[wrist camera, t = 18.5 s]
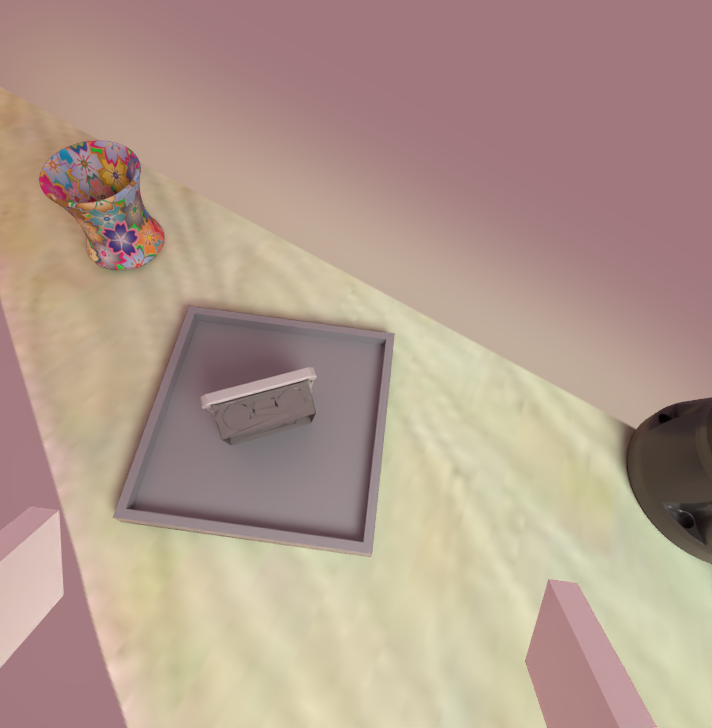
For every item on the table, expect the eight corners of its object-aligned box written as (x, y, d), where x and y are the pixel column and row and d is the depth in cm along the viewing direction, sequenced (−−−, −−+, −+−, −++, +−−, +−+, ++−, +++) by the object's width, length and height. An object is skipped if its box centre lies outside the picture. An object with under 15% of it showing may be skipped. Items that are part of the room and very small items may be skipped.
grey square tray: (392, 343, 52) (394, 333, 50) (370, 556, 41) (371, 553, 39) (193, 316, 52) (189, 306, 50) (121, 522, 41) (112, 517, 40)
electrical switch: (309, 386, 48) (308, 346, 39) (324, 435, 46) (326, 404, 38) (215, 412, 46) (193, 376, 38) (226, 464, 44) (206, 438, 36)
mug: (186, 247, 57) (158, 172, 47) (116, 291, 53) (72, 220, 44) (127, 194, 60) (91, 115, 51) (58, 232, 57) (5, 154, 47)
